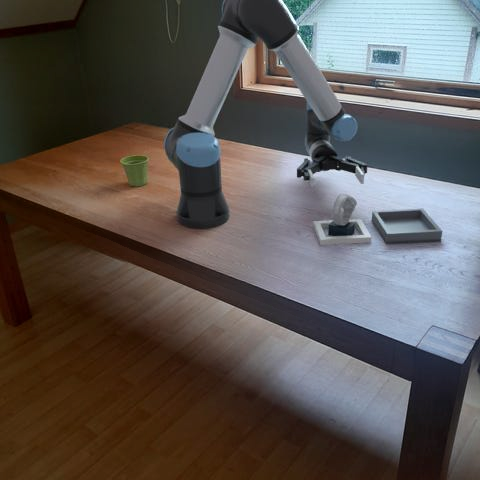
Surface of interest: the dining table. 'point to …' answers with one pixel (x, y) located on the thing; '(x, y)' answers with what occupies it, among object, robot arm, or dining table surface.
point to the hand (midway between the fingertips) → (337, 180)
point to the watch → (342, 224)
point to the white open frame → (324, 240)
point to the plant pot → (136, 169)
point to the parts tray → (406, 226)
